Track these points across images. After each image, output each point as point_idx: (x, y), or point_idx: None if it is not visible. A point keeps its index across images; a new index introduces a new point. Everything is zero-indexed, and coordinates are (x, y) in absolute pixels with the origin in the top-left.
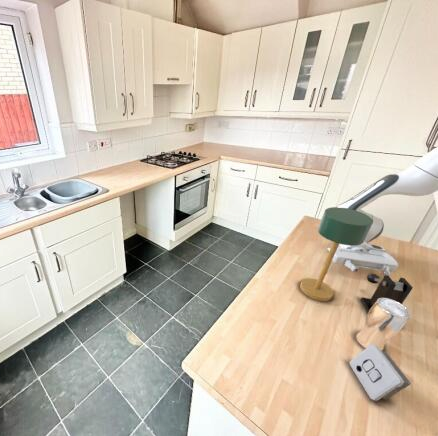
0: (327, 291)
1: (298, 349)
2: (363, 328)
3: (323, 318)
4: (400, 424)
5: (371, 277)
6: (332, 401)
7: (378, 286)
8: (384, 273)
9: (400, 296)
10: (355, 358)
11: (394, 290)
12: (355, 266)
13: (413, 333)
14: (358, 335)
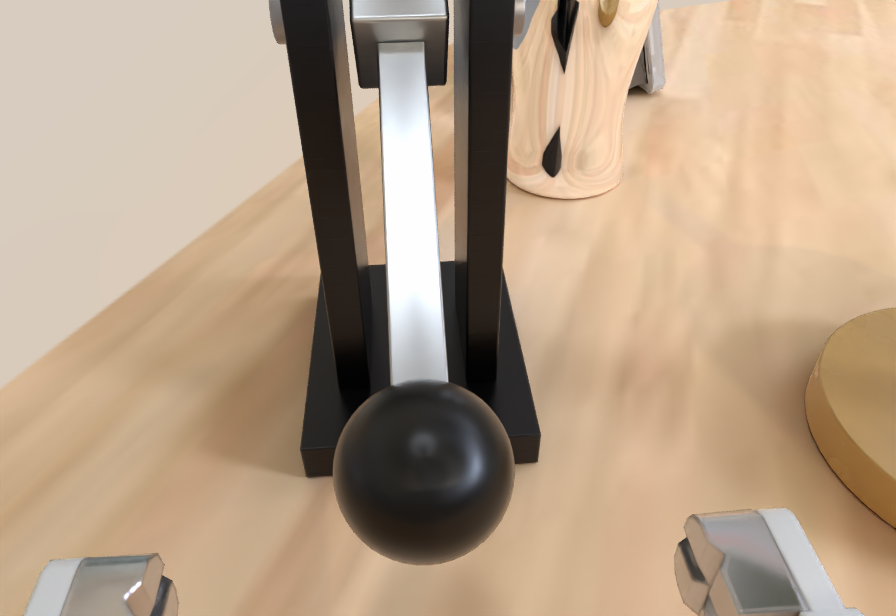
0: (882, 396)
1: (858, 92)
2: (626, 97)
3: (808, 222)
4: None
5: (480, 403)
6: (708, 31)
7: (507, 153)
8: (157, 590)
9: (349, 92)
10: (661, 48)
11: (346, 153)
12: (767, 563)
13: (262, 271)
14: (622, 153)
